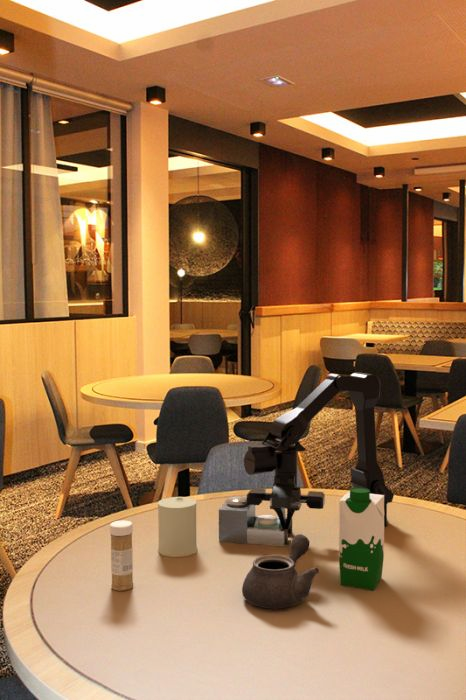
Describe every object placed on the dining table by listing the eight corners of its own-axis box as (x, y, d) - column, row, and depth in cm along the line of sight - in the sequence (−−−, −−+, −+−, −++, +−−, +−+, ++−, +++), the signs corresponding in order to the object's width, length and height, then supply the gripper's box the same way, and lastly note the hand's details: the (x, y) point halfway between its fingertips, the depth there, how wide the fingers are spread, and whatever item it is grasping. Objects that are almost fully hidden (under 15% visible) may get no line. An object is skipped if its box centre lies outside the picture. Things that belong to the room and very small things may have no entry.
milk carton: (334, 585, 146) (335, 490, 145) (347, 570, 155) (347, 480, 153) (377, 593, 143) (378, 495, 141) (387, 577, 151) (388, 484, 149)
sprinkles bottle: (129, 581, 149) (128, 518, 148) (136, 589, 145) (135, 524, 144) (108, 585, 147) (107, 521, 146) (114, 593, 143) (113, 528, 142)
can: (199, 543, 172) (199, 495, 171) (194, 557, 163) (193, 506, 162) (162, 542, 173) (161, 494, 172) (154, 556, 163) (153, 505, 163)
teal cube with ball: (280, 534, 178) (280, 514, 178) (278, 543, 172) (278, 522, 172) (256, 533, 179) (256, 513, 179) (253, 542, 173) (253, 521, 173)
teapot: (309, 621, 131) (309, 568, 130) (232, 607, 137) (232, 556, 136) (335, 583, 148) (336, 536, 147) (266, 572, 154) (266, 526, 153)
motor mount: (292, 531, 180) (293, 496, 180) (287, 546, 170) (287, 509, 169) (228, 527, 184) (228, 493, 183) (218, 541, 173) (218, 505, 172)
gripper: (241, 476, 168) (242, 540, 169) (321, 480, 164) (320, 546, 165) (250, 465, 179) (250, 526, 180) (325, 468, 175) (324, 530, 176)
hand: (285, 532), depth 175 cm, fingers closed
